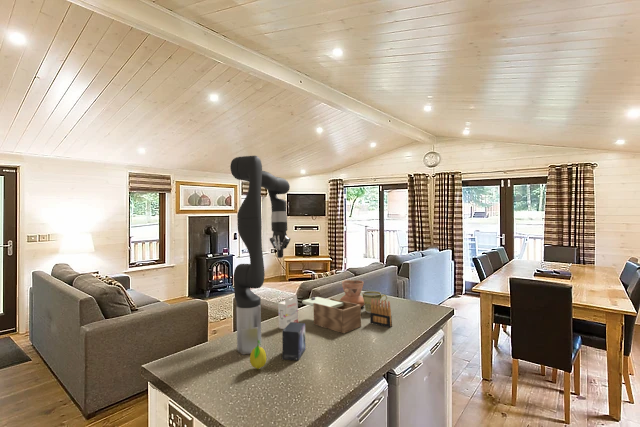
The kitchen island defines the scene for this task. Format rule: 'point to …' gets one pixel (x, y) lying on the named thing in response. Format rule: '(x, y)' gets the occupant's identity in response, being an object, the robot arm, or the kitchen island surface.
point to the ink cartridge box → (288, 311)
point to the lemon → (258, 357)
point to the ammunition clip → (380, 313)
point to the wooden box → (338, 316)
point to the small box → (293, 341)
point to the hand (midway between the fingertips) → (280, 257)
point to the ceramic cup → (368, 297)
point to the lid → (322, 302)
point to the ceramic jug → (353, 291)
